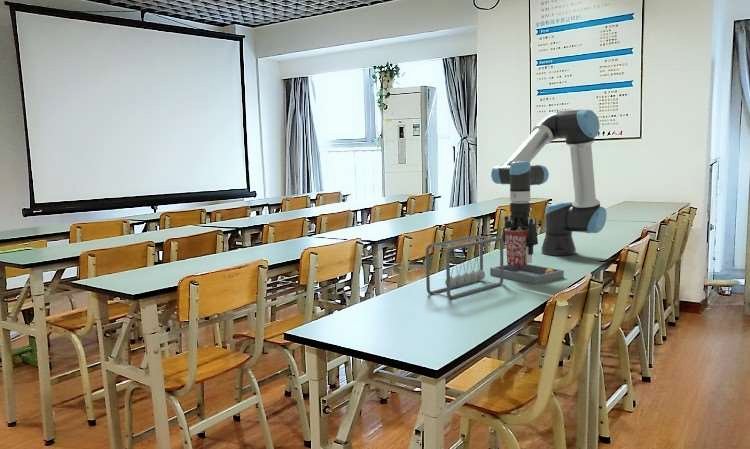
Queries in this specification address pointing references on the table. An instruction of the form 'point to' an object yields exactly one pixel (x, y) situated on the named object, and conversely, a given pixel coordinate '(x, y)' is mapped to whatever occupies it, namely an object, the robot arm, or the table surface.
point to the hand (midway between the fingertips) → (520, 261)
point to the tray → (527, 273)
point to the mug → (516, 246)
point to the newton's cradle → (465, 278)
